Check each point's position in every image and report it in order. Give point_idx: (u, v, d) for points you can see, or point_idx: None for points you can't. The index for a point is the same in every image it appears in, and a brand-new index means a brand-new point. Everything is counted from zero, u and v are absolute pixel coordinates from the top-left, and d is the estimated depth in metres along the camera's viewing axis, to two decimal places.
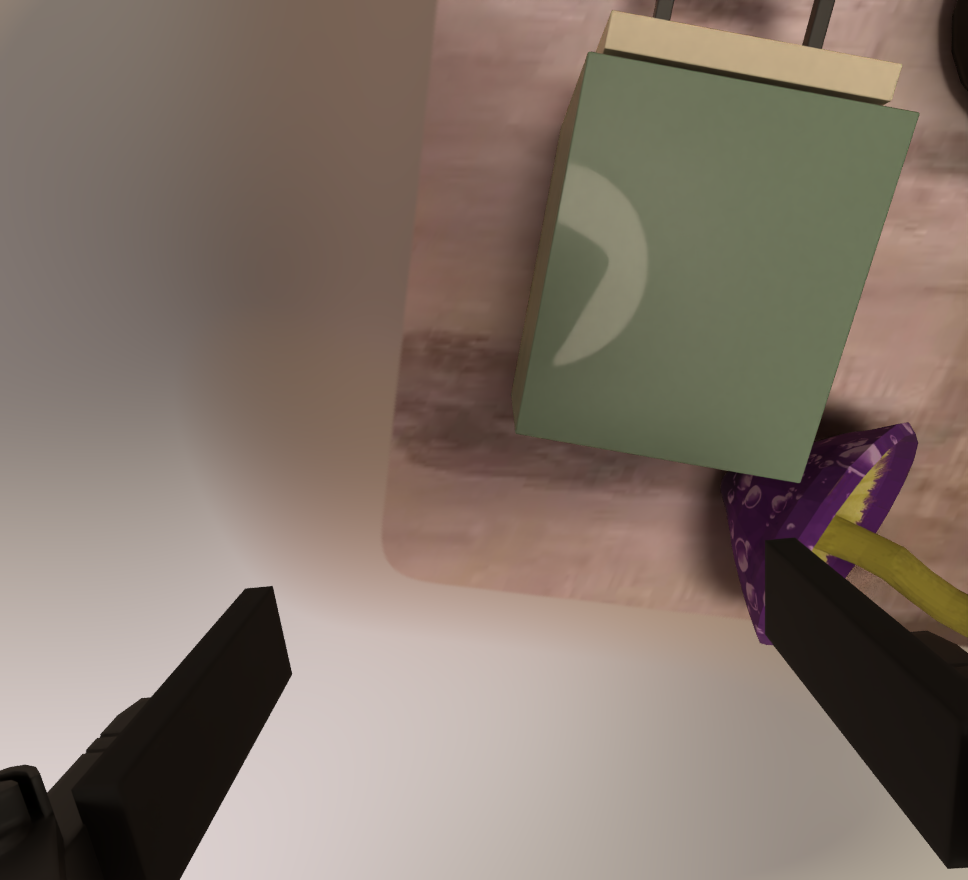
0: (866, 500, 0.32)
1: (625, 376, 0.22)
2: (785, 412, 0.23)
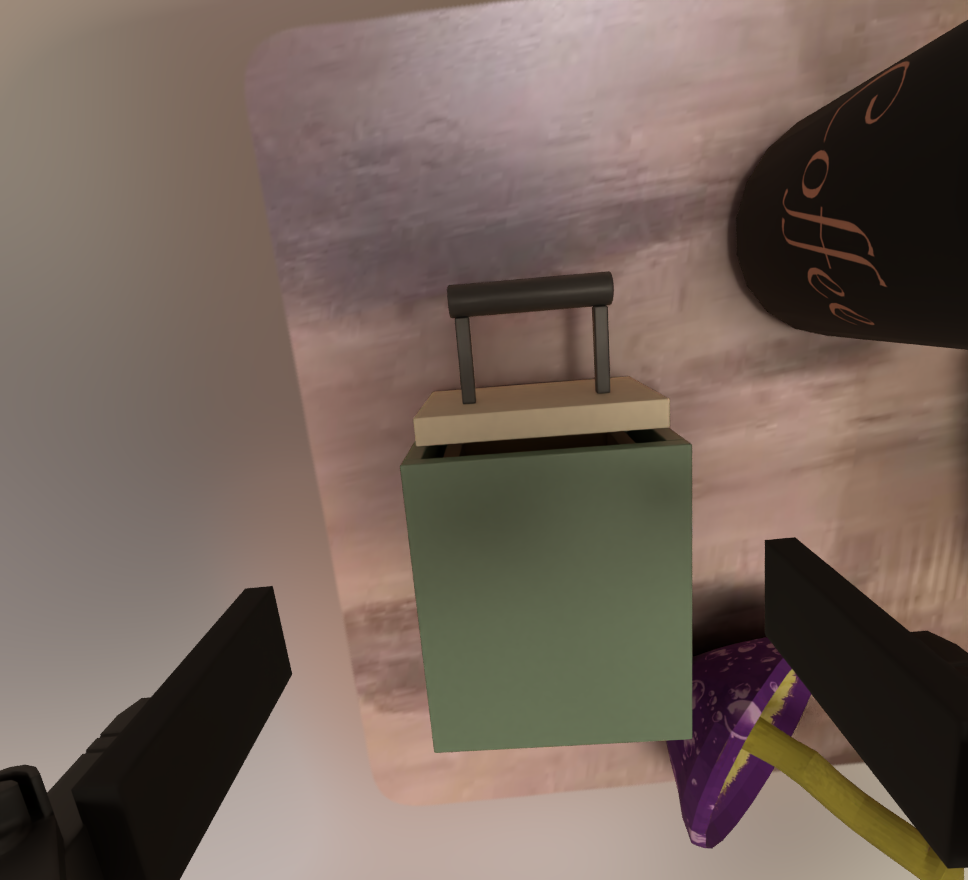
0: None
1: (512, 691, 0.26)
2: (659, 688, 0.25)
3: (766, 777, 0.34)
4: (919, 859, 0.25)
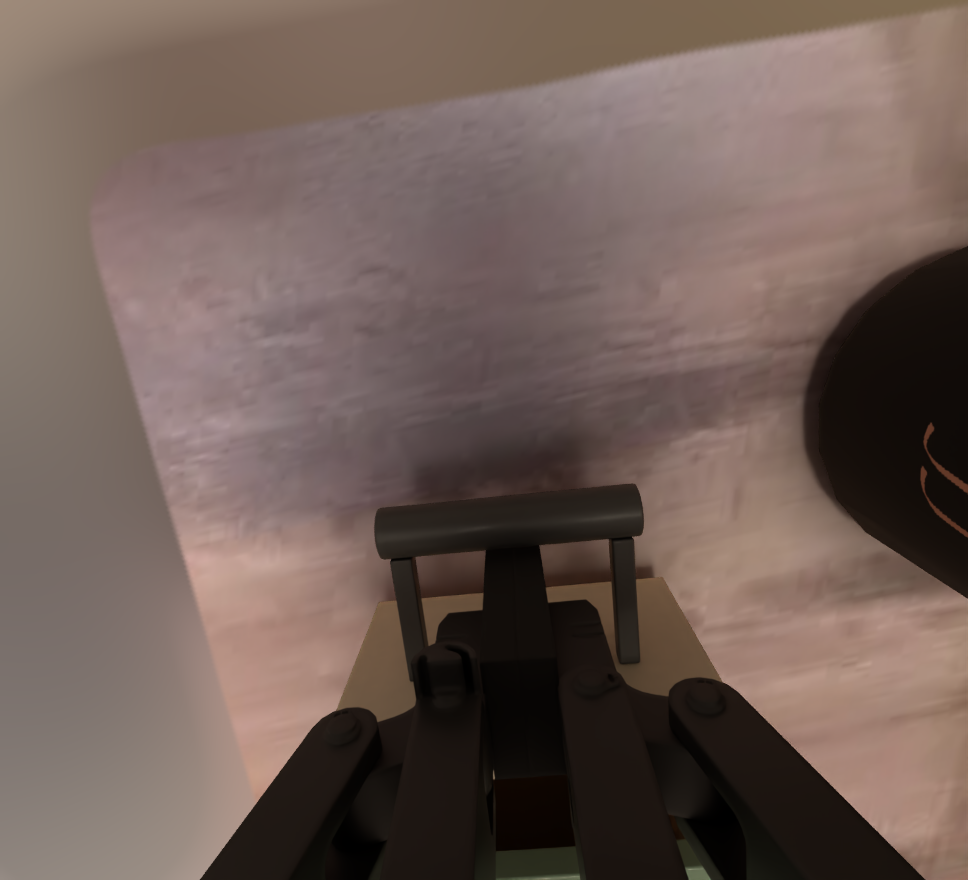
0: None
1: None
2: None
3: None
4: None
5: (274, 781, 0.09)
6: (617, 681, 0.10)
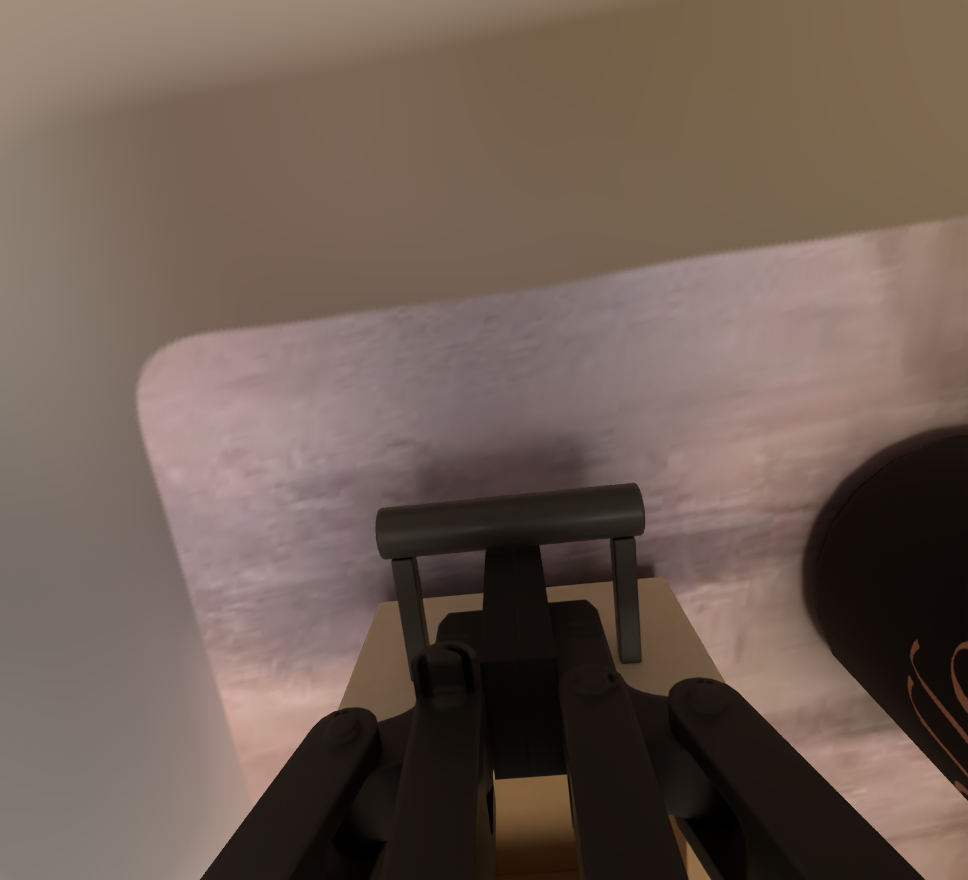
0: None
1: None
2: None
3: None
4: None
5: (274, 781, 0.09)
6: (617, 681, 0.10)
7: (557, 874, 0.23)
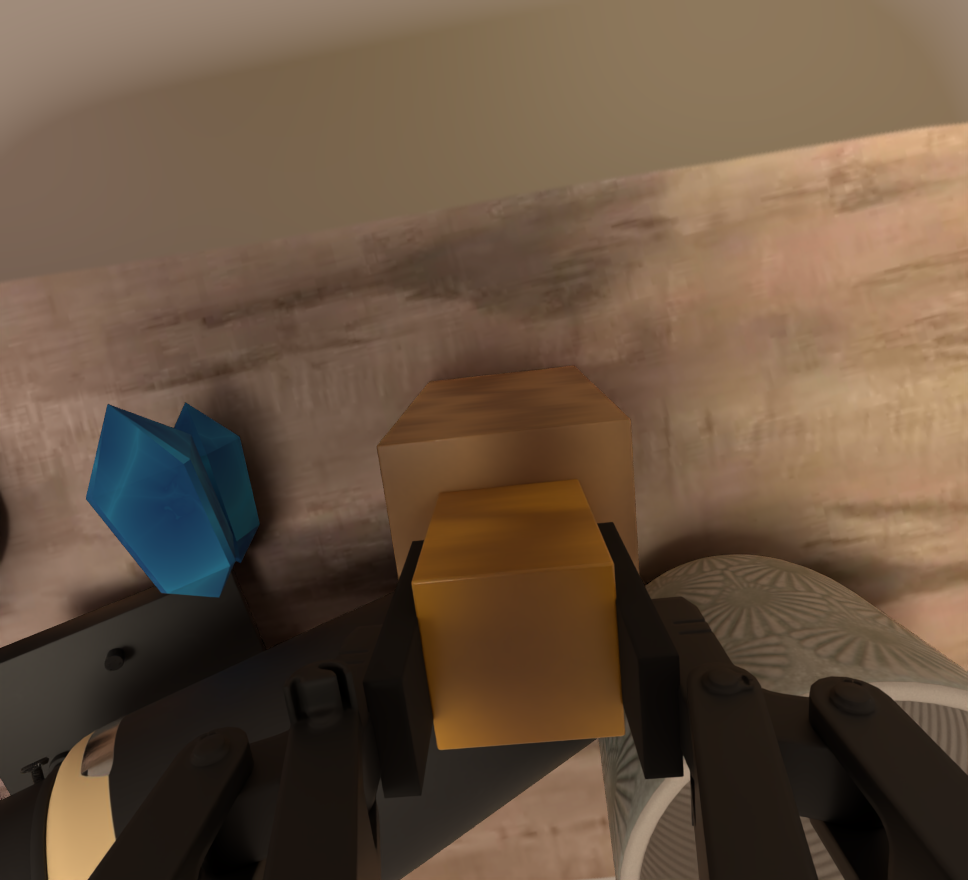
0: None
1: None
2: None
3: None
4: None
5: (137, 813, 0.09)
6: (750, 684, 0.10)
7: None
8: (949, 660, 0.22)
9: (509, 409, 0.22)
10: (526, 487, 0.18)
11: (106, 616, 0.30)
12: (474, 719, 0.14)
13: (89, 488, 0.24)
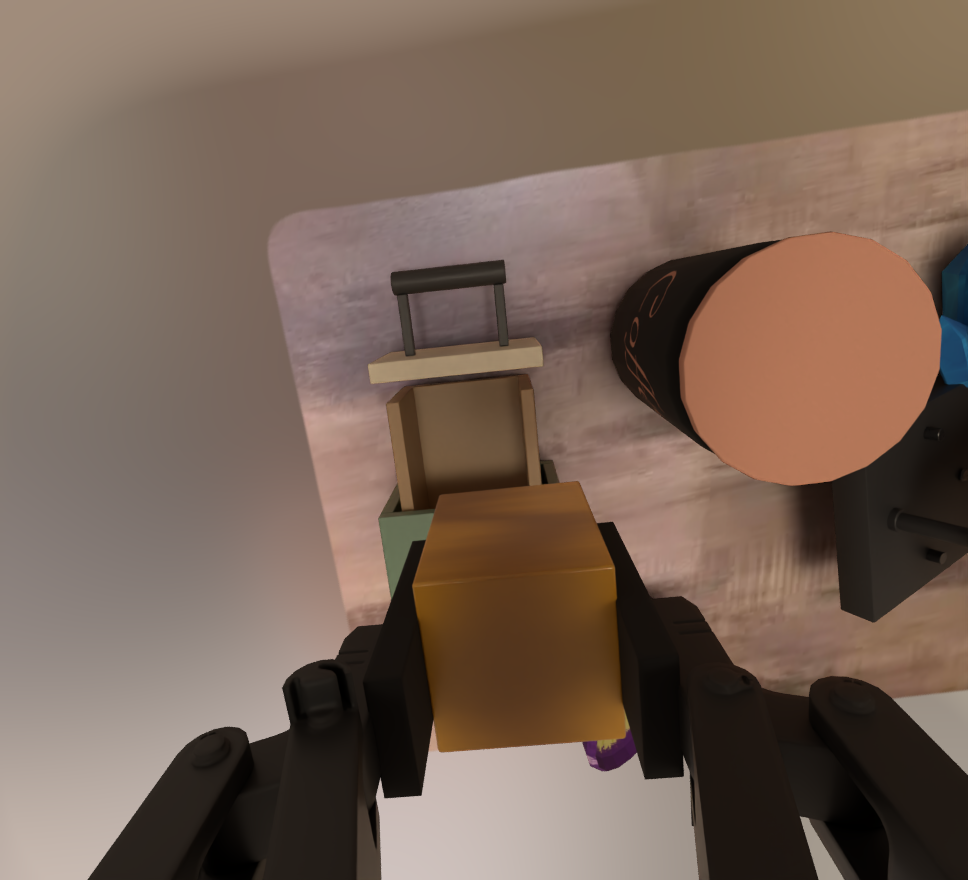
0: None
1: None
2: None
3: None
4: None
5: (137, 813, 0.09)
6: (750, 683, 0.10)
7: None
8: None
9: None
10: (527, 489, 0.18)
11: None
12: (475, 722, 0.14)
13: None
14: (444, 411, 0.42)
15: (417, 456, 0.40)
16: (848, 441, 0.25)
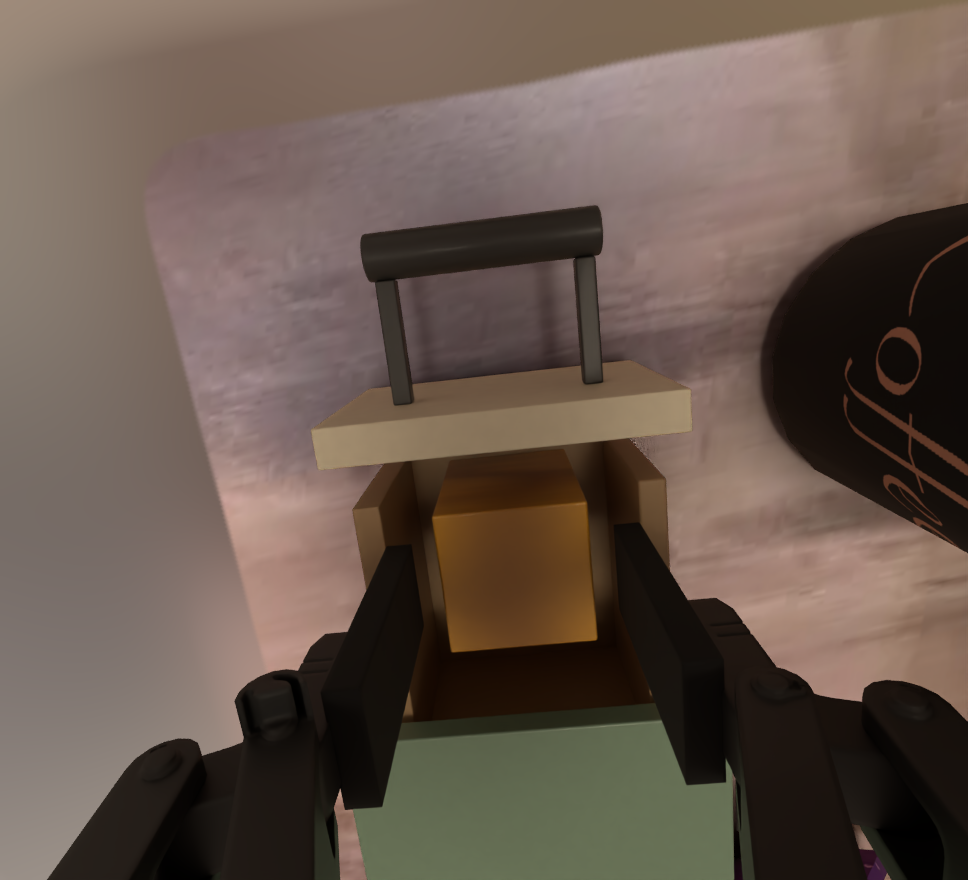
0: None
1: None
2: None
3: None
4: None
5: (83, 830, 0.09)
6: (802, 689, 0.10)
7: (534, 654, 0.24)
8: None
9: None
10: (521, 455, 0.22)
11: None
12: (480, 627, 0.18)
13: None
14: None
15: (419, 584, 0.22)
16: None
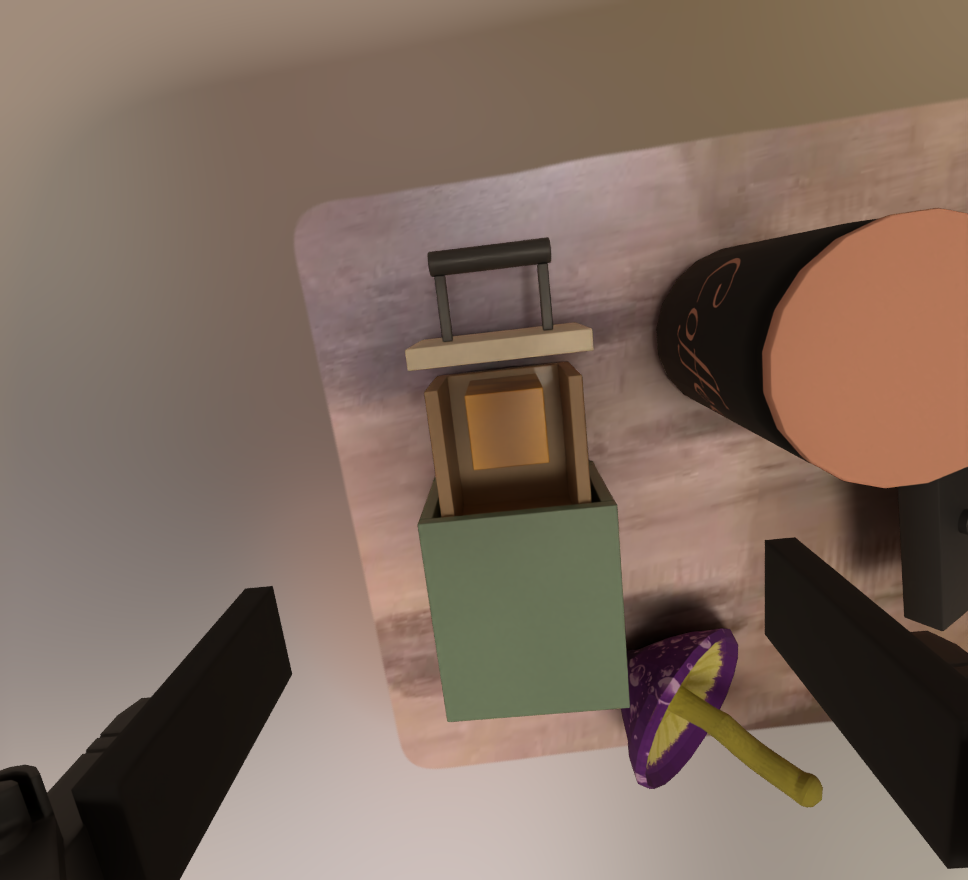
0: (720, 654, 0.44)
1: (500, 677, 0.36)
2: (604, 672, 0.36)
3: (702, 738, 0.45)
4: (791, 785, 0.36)
5: None
6: None
7: (519, 500, 0.41)
8: None
9: None
10: (511, 376, 0.38)
11: None
12: (488, 455, 0.34)
13: None
14: None
15: (453, 449, 0.38)
16: (949, 439, 0.23)
